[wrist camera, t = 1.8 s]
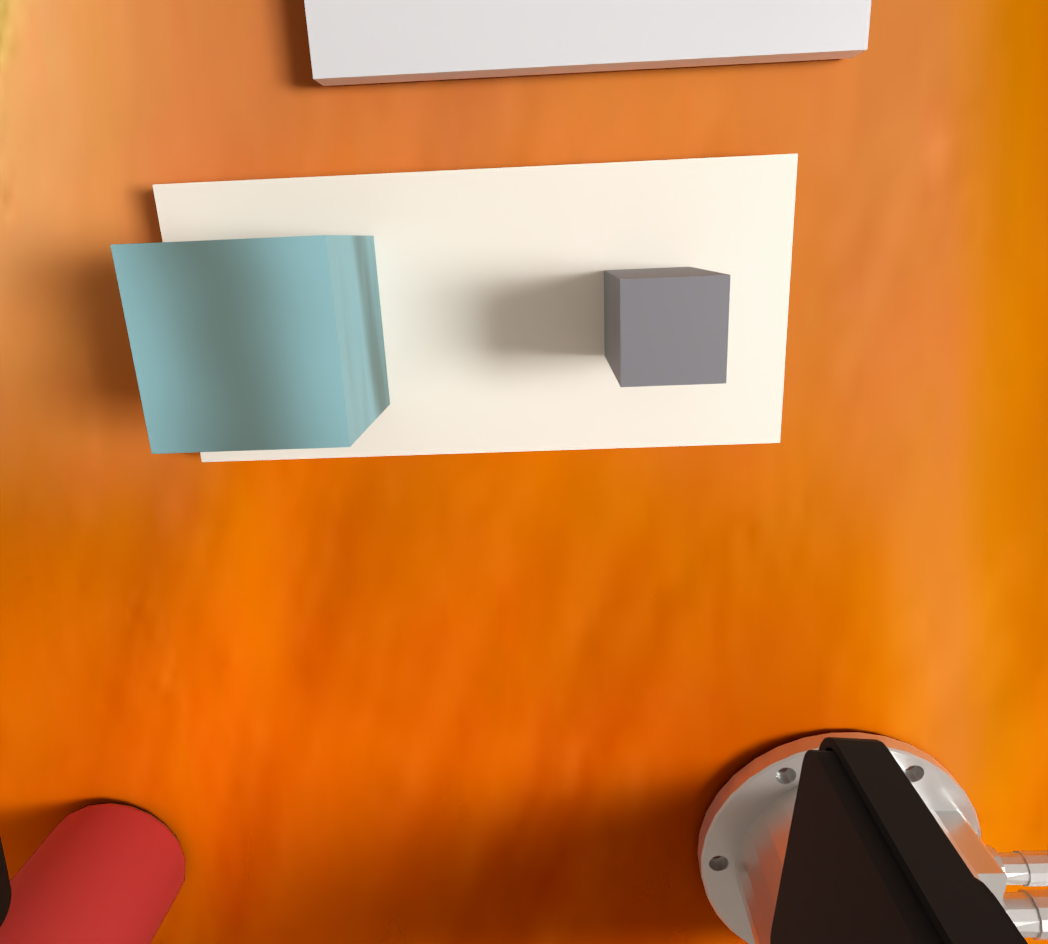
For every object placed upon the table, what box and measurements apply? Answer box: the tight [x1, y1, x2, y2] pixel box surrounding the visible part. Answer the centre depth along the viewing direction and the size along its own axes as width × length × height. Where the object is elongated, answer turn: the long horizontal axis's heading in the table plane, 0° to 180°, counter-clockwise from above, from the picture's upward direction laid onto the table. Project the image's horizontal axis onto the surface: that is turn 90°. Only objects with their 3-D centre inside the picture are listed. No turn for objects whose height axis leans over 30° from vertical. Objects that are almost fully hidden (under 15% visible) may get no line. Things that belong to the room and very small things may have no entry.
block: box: [111, 235, 390, 454], centre depth 24 cm, size 6×6×6 cm
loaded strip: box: [153, 154, 798, 462], centre depth 25 cm, size 22×10×7 cm, turn 92°
